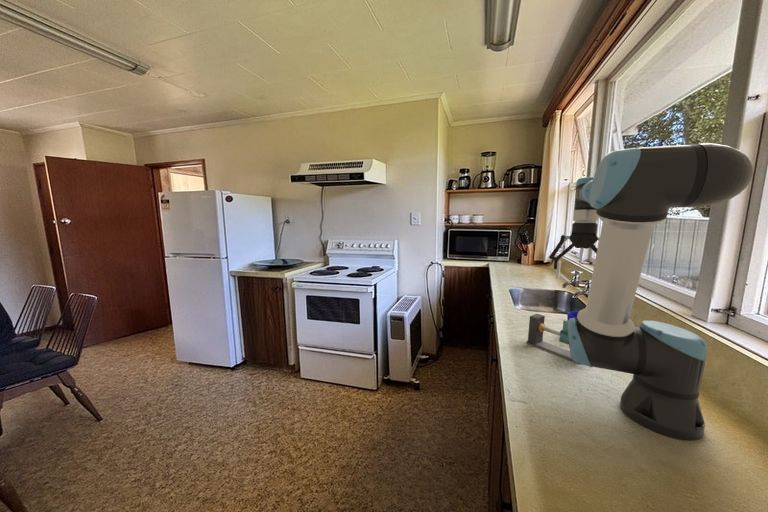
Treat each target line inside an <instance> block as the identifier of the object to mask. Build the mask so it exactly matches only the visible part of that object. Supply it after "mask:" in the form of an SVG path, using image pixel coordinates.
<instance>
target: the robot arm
mask: <svg viewBox="0 0 768 512" xmlns="http://www.w3.org/2000/svg"><path fill="white" fill-rule="evenodd" d="M753 174H754V166H753V162H752V160H751V158H749V156H747V154H746V153H744V151H743V152H742V151H741V150H739V149H737V148H735V147H732V146H729V145H724V144H721V143H720V144H719V143H710V142H709V143H708V142H706V143H695V144H681V145H664V146H663V145H661V146H645V147H637V146H636V147H632V148H624V149H623V148H622V149H618V150H617V149H616V150H612V151H610V152H607V154H605V155H604V157H602V159H601V161H600V162H599V164H598V166H597V168H596V170H595V172H594V175H593V176H585V177H580V178H578V179H577V180H576V184H575V187H574V189H575V190H574V191H575V195H574V206H573V213H572V222H573V223H571V232H570V233H571V234H570V235H566V234H562V235H561V236H560V238H559V239H560V240H559V242H558V243H557V244H556V246H555V248H554V249H553V250H552V252H551V254H549V257H548V258H549V259H550V260H552V261H553V269H554V270H556V277H555V279H558V280H559V279H560V277H561V264H562V261H561V260H560V259H562V257H564V256H565V255H566V254H567V253H568V252H570V251H571V250H572V249H573V248H576V249H581V248H582V249H585V250H587V249H591V250H592V251H593V252H594V253H595V259H594V265H593V269H592V275H591V279H590V284H589V285H590V286H589V289H588V290H589V291H588V296H587V300H586V305H585V308H582V309H580V310H579V311H577V312H578V315H577V319H576V318H570V319H569V321H568V337H569V345H568V346H569V351H570V353H571V357H572V359H573V361H572V362H574V361H575V363H577V364H579V365H583V366H586V367H589V368H598V369H603V370H608V371H609V370H610V371H615V372H620V373H623V374H624V373H626V374H629V375H630V374H631V375H632V379H631V381H630V382H629V384H628V385H627V386H626V388H625V389H624V391H623V392H622V394H621V396H620V403H619V405H620V408H621V410H622V411H623V412H624V413H625V415H626V416H628V418H630V419H631V420H633V421H634V422H636V423H638V424H639V425H641V426H642V427H644V428H646V429H648V430H650V431H652V432H656V433H658V434H660V435H663V436H667V437H670V438H674V439H677V440H678V439H679V440H687V441H695V440H699V439H701V438H703V436H704V433H705V428H706V423H705V419H704V416H703V412H702V409H701V404H700V402H699V398H700V397H699V396H700V390H701V385H702V381H703V376H704V370H705V367H706V361H707V360H708V358H707V351H708V350H707V348H708V345H707V342H706V340H704V339H703V338H702V337H701V336H699V335H698V334H696V333H694V332H693V331H690V330H687V329H685V328H682V327H679V326H676V325H672V324H669V323H666V322H662V321H656V320H642V321H640V323H639V326H635V323H634V322H633V320H632V319H631V318H630V317H631V312H632V309H633V306H634V300H635V298H636V293H637V291H638V290H637V289H638V286H639V282H640V278H641V275H642V271H643V268H644V264H645V260H646V258H647V253H648V249H649V247H650V246H649V245H650V241H651V239H652V234H653V232H654V231H653V230H654V227H655V226H656V225H658V224H661V223H662V222H664V221H665V220H666V219H667V217H668V214H669V212H670V209H671V208H672V209H673V208H698V207H708V206H711V205H712V206H713V205H717V204H721V203H723V202H727V201H728V200H729V201H730V200H731V199H733V198H735V197H736V196H738V195H740V194H741V193H742V192H743V191H745V190H746V188H747V187H748V186H749V185H750V183H751V181H752V179H753V176H754V175H753ZM599 219H600V221H601V223H602V224H601V227H600V228H601V229H600V234H599V236H598V226H599V224H598V223H597V222H599ZM568 240H569V241H570V242H571V244H569V246H567V247H566V248H565V249H564V250H562V251H561V252H560V253H559V254H558V255H557V253H558V252H559V251H560V249H561V248H562V246H563V245H564V243H565V242H567V241H568ZM597 241H598V244H597V246H596V245H595V244H596V243H597ZM556 255H557V256H556Z"/></svg>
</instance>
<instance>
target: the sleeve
mask: <svg viewBox="0 0 768 512" xmlns="http://www.w3.org/2000/svg"><path fill="white" fill-rule="evenodd" d="M559 332H560V336H559V339H558V340H559V342H560V343H563V344H566V345H568V346H569V337H568V320H566V319H564V320H563V322H562V329H561V330H560V331H559Z"/></svg>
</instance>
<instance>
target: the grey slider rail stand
mask: <svg viewBox="0 0 768 512" xmlns="http://www.w3.org/2000/svg"><path fill="white" fill-rule="evenodd" d="M545 316H546V315H542V314H539V313H534V314H532V315H530V316H529V323H528V337H527V340H526V341H525V342H526V344H529V345H531V346H534V347H536V348H539V349H541V350H543V351H546V352H548V353H551V354H554V355H556V356H559V357H562V358H564V359H566V360H569V361H572V362H575V361H573V359H572V357H571V353H570V350H568V349H565V348H562V347H560V346H556V345H554V344H552V343H549V342H546V341H543V339H544V332H547V333H551V334H553V335H557V336H559V337H560V331H559V330H556V329H554V328H553V329H552V328H549V327H546V324H545ZM575 363H576V362H575Z"/></svg>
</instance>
